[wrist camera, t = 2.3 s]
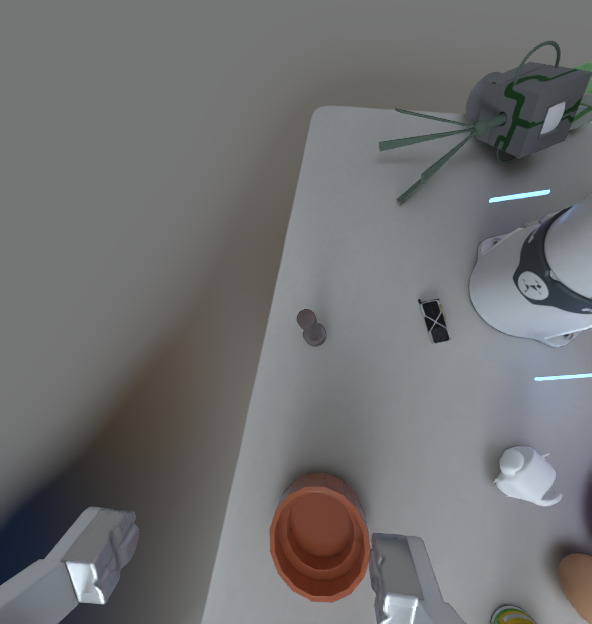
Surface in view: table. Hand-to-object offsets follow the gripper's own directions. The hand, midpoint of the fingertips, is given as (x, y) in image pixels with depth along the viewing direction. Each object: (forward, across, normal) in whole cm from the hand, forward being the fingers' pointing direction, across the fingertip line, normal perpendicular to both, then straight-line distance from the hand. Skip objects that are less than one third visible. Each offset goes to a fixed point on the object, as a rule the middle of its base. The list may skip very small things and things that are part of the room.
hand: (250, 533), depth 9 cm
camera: (+44, -13, -20) cm, 50 cm away
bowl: (+23, -4, +30) cm, 38 cm away
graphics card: (+36, -19, +4) cm, 41 cm away
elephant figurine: (+26, -29, +21) cm, 45 cm away
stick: (+36, -2, +7) cm, 37 cm away
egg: (+18, -33, +26) cm, 46 cm away
